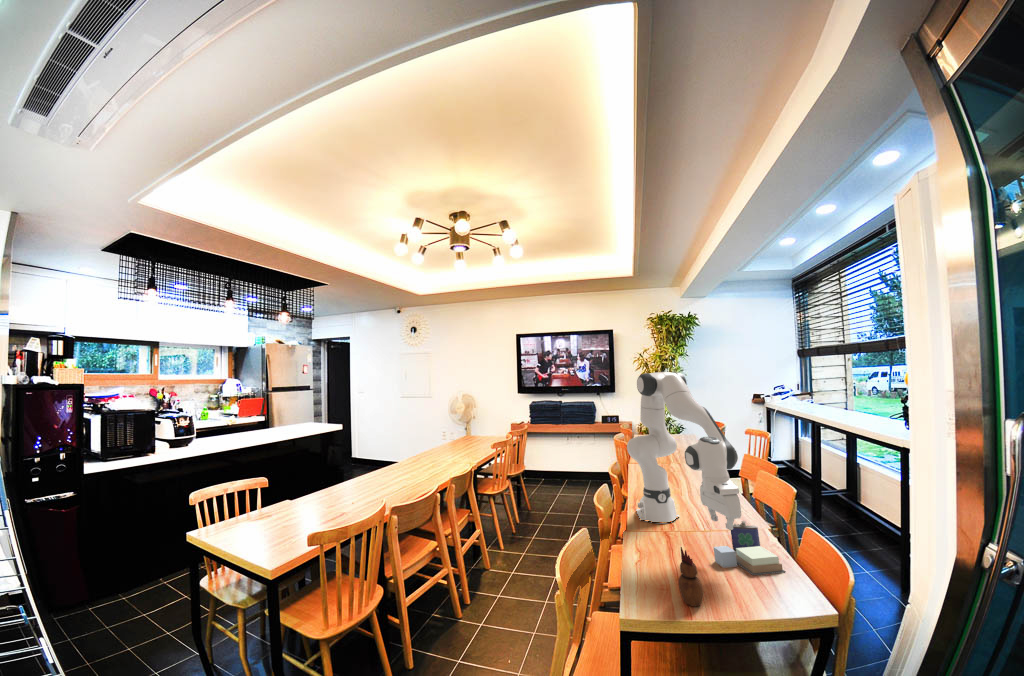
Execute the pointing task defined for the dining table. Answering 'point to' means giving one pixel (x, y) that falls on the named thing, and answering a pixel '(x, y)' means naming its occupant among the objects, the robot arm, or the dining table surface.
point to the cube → (725, 556)
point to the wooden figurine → (689, 581)
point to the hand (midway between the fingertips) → (722, 524)
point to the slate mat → (761, 572)
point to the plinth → (759, 568)
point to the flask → (744, 536)
